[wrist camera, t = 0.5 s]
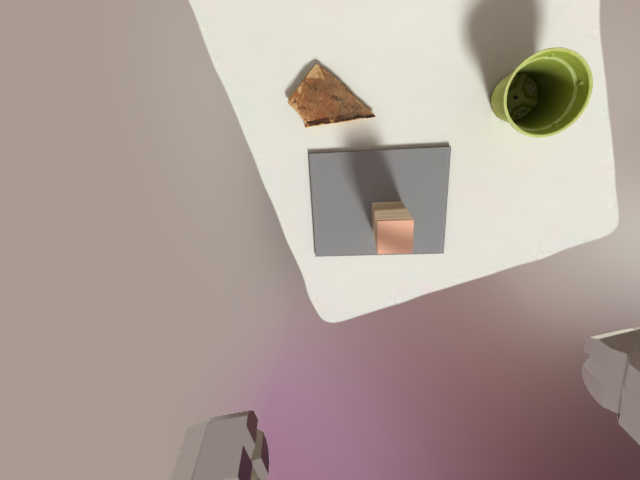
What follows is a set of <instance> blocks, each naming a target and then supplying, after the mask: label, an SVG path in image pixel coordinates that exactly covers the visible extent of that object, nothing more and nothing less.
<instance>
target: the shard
mask: <svg viewBox="0 0 640 480" xmlns="http://www.w3.org/2000/svg"><path fill="white" fill-rule="evenodd" d="M288 104H289V105H290V106H291V107H293V108H294V109H295V110H296V111H297V112H298V114H299V115H300V116H301V118H302V119H303V121H304V123H305V127H306V128H307V127H310V126H318V125H324V124H330V123H340V122H346V121H352V120H356V119H360V118H372V117H375V115H374V114H373V113H372V112H370V111H369V110H368V109H367V108H366V107H365V106H364V105H362V104H361V103H360V102H359V101H358V100H357V99H356V98H355V97H354V96H353V95H352V93H351V92H350V91H349V90H347V89H346V88H345V87H344V86H343V84H342V83H340V82H339V81H338V80H337V79H336V78H335V77H333V76H332V75H331V74H330V73H329V72H327V71H325V70H324V69H323V68H322V67H321V66H320V65H318V64H315V66H314V67H313V68H312V69H311V71H310V72H309V73H308V74H307V75H306V77H305V78H304V80H303V81H302V83H301V84H300V85H299V87H298V88H297V90H296V91H295V92H294V93H293V94H292V95H291V96H290V97H289V99H288Z"/></svg>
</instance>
